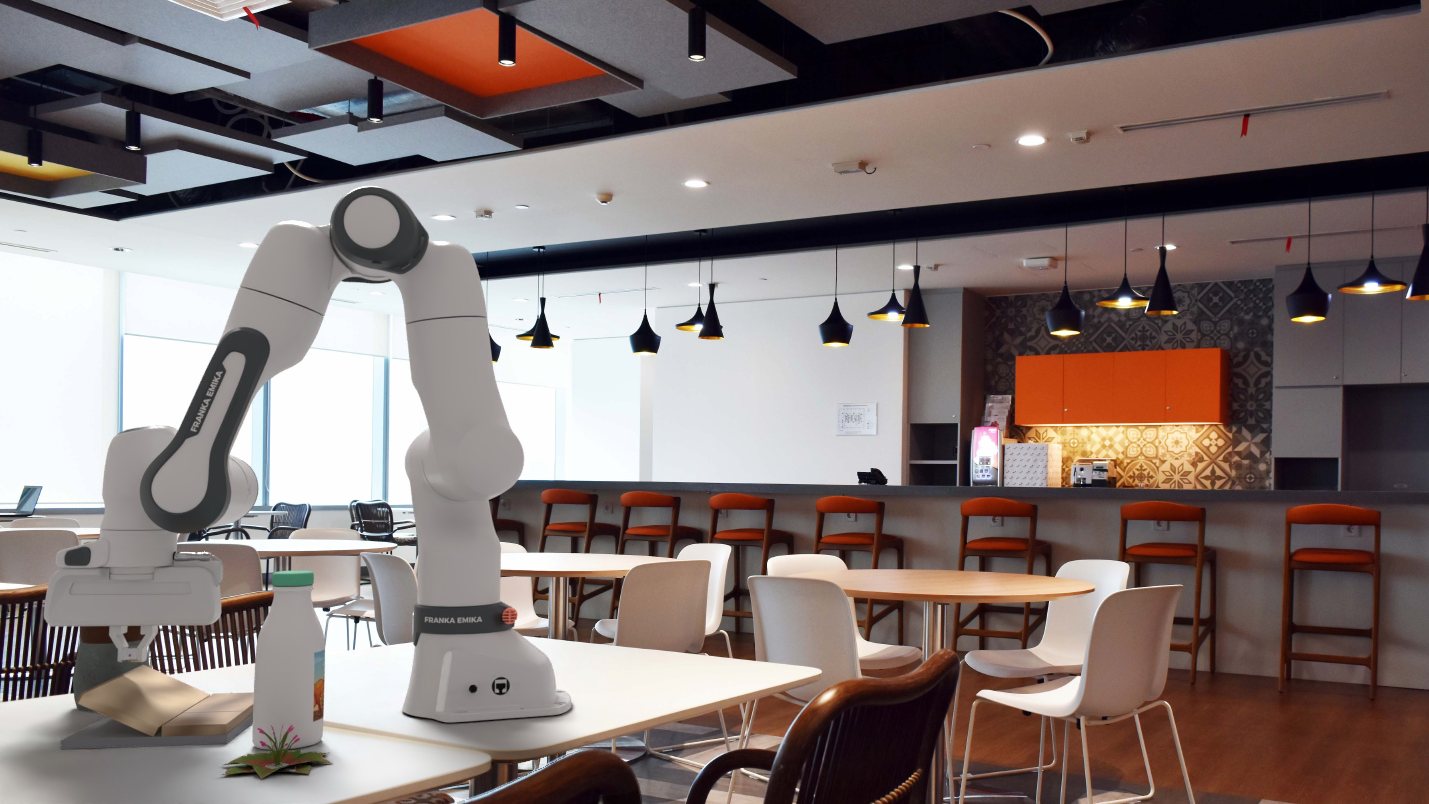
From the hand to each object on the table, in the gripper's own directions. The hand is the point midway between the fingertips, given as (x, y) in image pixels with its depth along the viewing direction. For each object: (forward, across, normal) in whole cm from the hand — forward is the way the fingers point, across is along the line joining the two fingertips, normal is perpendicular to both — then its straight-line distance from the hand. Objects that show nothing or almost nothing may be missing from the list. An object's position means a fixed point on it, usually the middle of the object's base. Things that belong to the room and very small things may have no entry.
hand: (132, 661), depth 136 cm
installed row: (+7, -12, +3) cm, 14 cm away
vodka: (+8, +7, -12) cm, 16 cm away
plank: (+5, -3, +3) cm, 6 cm away
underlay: (+8, -6, +3) cm, 10 cm away
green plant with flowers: (+8, -24, +24) cm, 35 cm away
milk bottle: (+8, -22, +14) cm, 27 cm away
